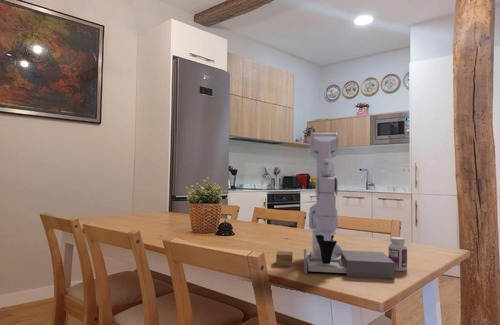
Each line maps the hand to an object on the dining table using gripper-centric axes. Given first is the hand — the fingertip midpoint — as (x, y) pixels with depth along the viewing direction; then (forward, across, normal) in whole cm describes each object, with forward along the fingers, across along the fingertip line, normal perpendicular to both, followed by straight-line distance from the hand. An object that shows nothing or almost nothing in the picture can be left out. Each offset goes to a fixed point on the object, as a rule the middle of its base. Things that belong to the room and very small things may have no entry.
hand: (325, 260), depth 112 cm
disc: (-3, +1, +1) cm, 3 cm away
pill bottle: (+3, -5, +22) cm, 23 cm away
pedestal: (+3, -4, -12) cm, 13 cm away
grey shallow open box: (+3, 0, +1) cm, 3 cm away
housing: (+3, 0, +12) cm, 12 cm away
